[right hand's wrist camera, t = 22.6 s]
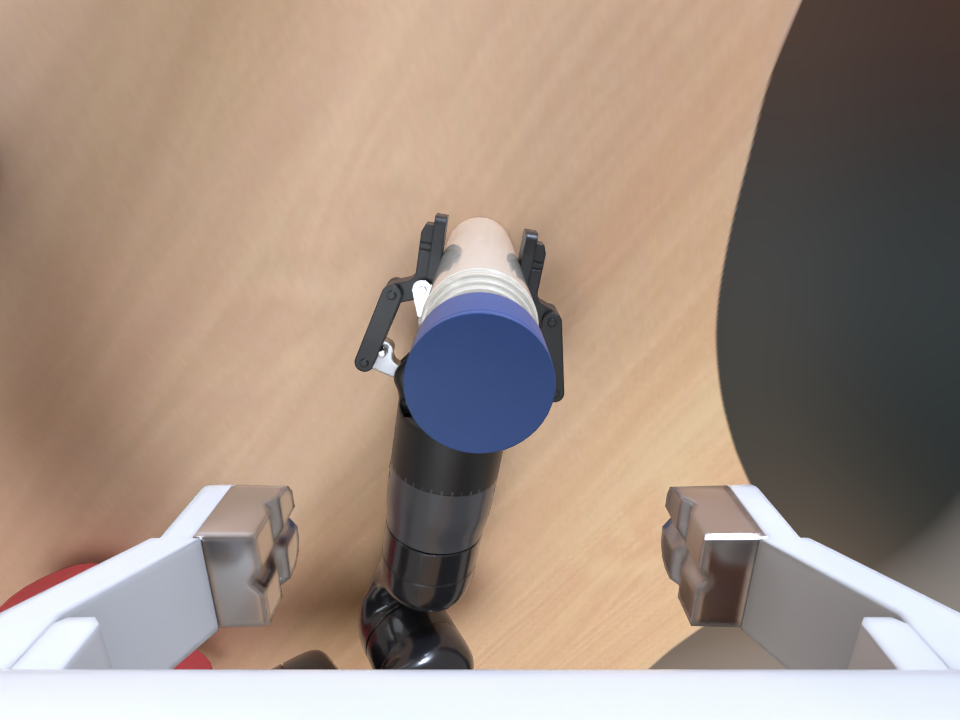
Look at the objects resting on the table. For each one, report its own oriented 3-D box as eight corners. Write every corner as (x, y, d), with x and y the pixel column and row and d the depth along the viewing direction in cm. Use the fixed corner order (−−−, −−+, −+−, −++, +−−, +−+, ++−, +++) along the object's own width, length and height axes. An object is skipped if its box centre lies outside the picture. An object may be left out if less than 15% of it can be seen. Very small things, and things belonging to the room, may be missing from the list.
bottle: (442, 277, 41) (392, 439, 18) (451, 211, 40) (411, 293, 16) (505, 287, 42) (540, 460, 18) (517, 222, 40) (572, 319, 16)
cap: (405, 406, 20) (394, 442, 17) (421, 281, 18) (412, 300, 16) (531, 425, 20) (539, 463, 17) (558, 303, 18) (570, 326, 16)
